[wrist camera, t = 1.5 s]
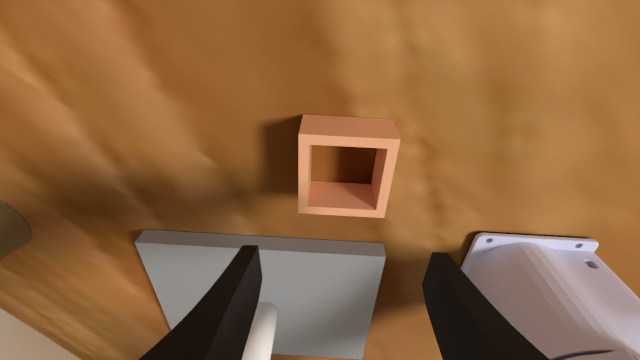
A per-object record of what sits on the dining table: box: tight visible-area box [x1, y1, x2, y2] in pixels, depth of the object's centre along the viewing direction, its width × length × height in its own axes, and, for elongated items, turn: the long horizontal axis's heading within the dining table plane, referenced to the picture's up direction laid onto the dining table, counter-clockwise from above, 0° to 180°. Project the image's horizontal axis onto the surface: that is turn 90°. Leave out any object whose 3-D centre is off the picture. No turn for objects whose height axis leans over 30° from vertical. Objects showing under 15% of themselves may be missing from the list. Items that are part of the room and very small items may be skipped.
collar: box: [298, 114, 401, 218], centre depth 19 cm, size 6×6×3 cm
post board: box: [135, 230, 386, 360], centre depth 26 cm, size 20×16×6 cm
